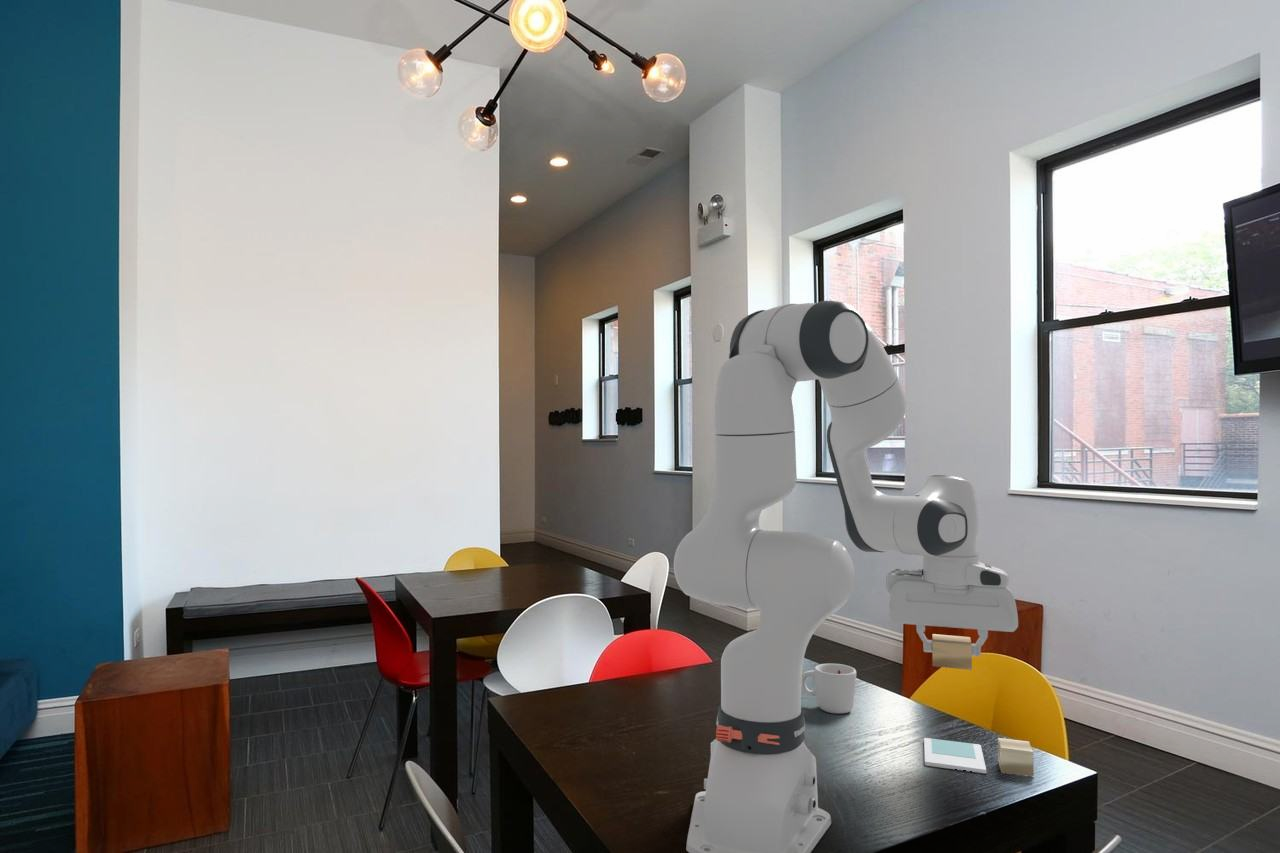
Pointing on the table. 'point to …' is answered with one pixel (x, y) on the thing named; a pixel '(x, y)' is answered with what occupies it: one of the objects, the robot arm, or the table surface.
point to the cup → (832, 687)
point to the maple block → (1015, 757)
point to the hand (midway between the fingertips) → (951, 653)
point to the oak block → (952, 651)
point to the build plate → (954, 755)
